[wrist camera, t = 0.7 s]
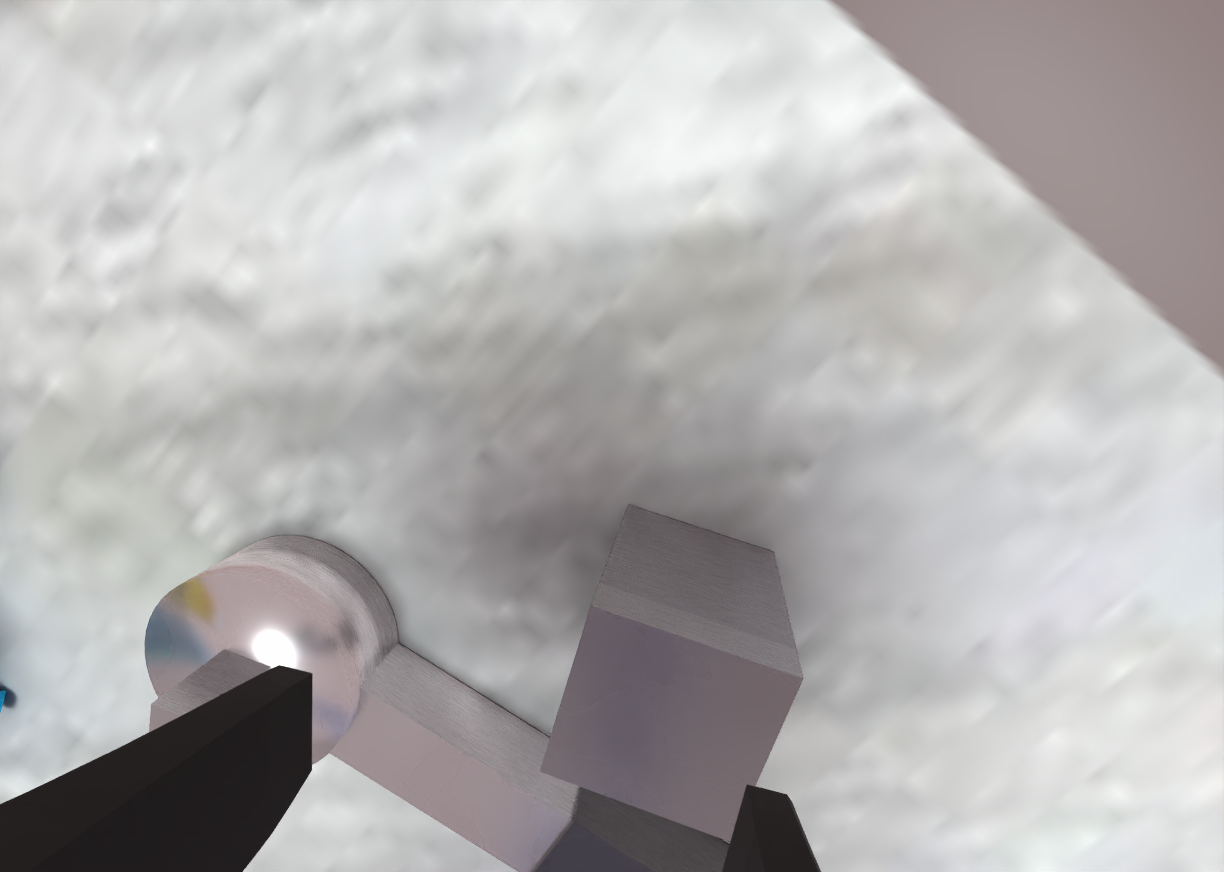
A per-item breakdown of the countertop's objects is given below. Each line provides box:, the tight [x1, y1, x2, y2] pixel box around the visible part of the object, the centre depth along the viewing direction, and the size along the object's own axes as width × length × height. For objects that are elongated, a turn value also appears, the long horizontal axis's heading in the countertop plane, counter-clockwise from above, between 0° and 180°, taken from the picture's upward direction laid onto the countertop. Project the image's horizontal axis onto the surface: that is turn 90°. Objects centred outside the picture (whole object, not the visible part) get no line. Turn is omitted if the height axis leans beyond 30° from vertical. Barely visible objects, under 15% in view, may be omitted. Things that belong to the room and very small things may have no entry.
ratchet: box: [145, 535, 729, 872], centre depth 19 cm, size 10×22×6 cm, turn 74°
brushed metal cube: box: [540, 505, 803, 842], centre depth 16 cm, size 5×5×6 cm
